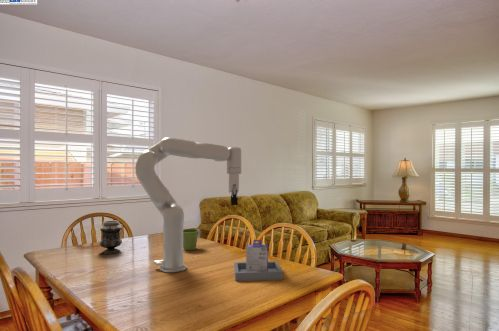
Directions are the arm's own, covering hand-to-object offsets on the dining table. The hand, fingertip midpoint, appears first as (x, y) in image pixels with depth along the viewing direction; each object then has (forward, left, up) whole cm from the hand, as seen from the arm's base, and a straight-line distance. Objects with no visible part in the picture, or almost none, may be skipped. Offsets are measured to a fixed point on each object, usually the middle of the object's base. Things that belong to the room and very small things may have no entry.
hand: (234, 204), depth 173 cm
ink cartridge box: (+10, -20, -30) cm, 37 cm away
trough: (+10, -20, -30) cm, 38 cm away
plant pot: (-26, +30, -31) cm, 50 cm away
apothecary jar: (-71, +27, -31) cm, 82 cm away
